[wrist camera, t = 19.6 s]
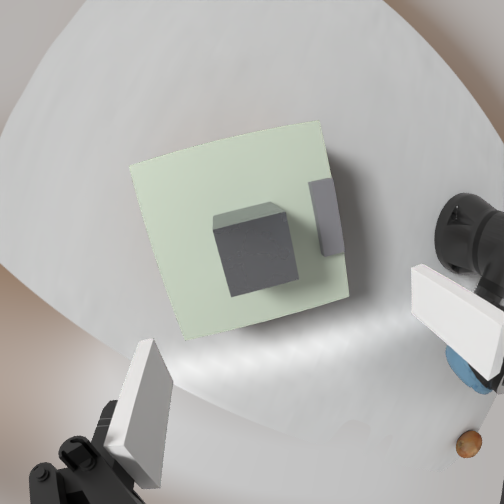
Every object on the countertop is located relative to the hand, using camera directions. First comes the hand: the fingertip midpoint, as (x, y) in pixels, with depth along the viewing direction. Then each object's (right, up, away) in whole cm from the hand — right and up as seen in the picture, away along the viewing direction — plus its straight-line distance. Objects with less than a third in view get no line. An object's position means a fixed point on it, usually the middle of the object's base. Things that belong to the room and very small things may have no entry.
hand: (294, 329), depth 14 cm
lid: (-3, +6, +19) cm, 20 cm away
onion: (+69, -59, +57) cm, 107 cm away
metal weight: (-2, +5, +18) cm, 19 cm away
